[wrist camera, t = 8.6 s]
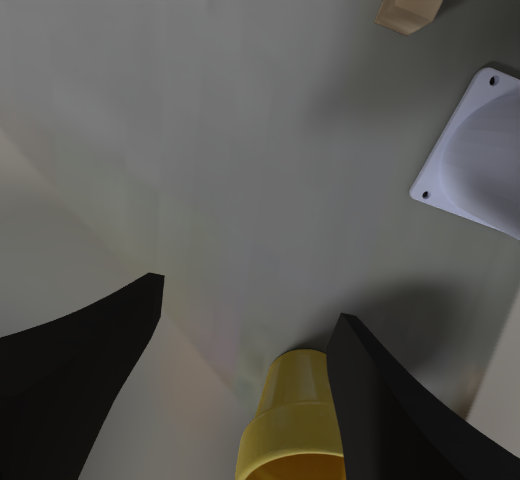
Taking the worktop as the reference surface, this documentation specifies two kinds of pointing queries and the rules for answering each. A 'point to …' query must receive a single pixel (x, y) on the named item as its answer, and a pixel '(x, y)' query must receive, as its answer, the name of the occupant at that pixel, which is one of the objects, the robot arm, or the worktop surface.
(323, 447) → the plant pot
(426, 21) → the wooden u-shaped frame
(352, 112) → the worktop surface
